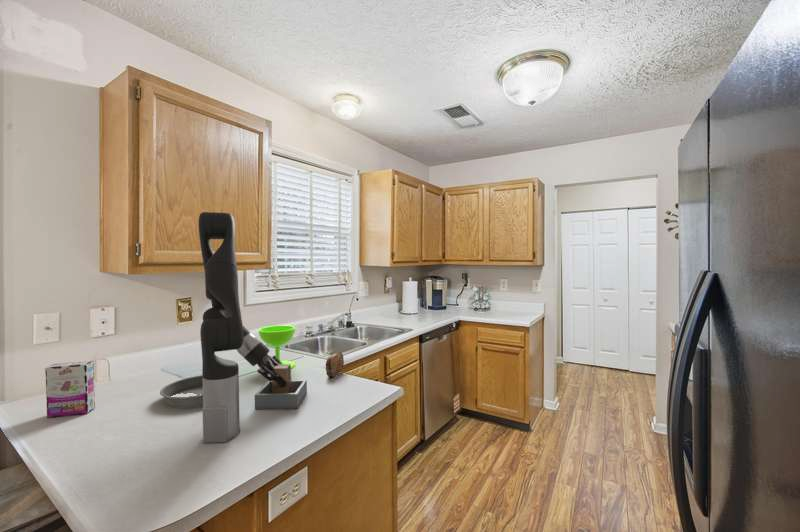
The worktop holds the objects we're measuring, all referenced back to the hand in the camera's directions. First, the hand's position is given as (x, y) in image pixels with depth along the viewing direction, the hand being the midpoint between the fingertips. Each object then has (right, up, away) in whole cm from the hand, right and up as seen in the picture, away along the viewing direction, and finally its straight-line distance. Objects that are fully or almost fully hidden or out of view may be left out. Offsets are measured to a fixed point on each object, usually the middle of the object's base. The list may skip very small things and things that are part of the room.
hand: (287, 382), depth 128 cm
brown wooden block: (-2, -4, 0) cm, 5 cm away
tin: (+11, -6, +31) cm, 33 cm away
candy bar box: (-68, -8, -8) cm, 69 cm away
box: (-2, -7, 0) cm, 7 cm away
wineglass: (-17, -6, +41) cm, 44 cm away
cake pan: (-34, -7, +6) cm, 35 cm away
